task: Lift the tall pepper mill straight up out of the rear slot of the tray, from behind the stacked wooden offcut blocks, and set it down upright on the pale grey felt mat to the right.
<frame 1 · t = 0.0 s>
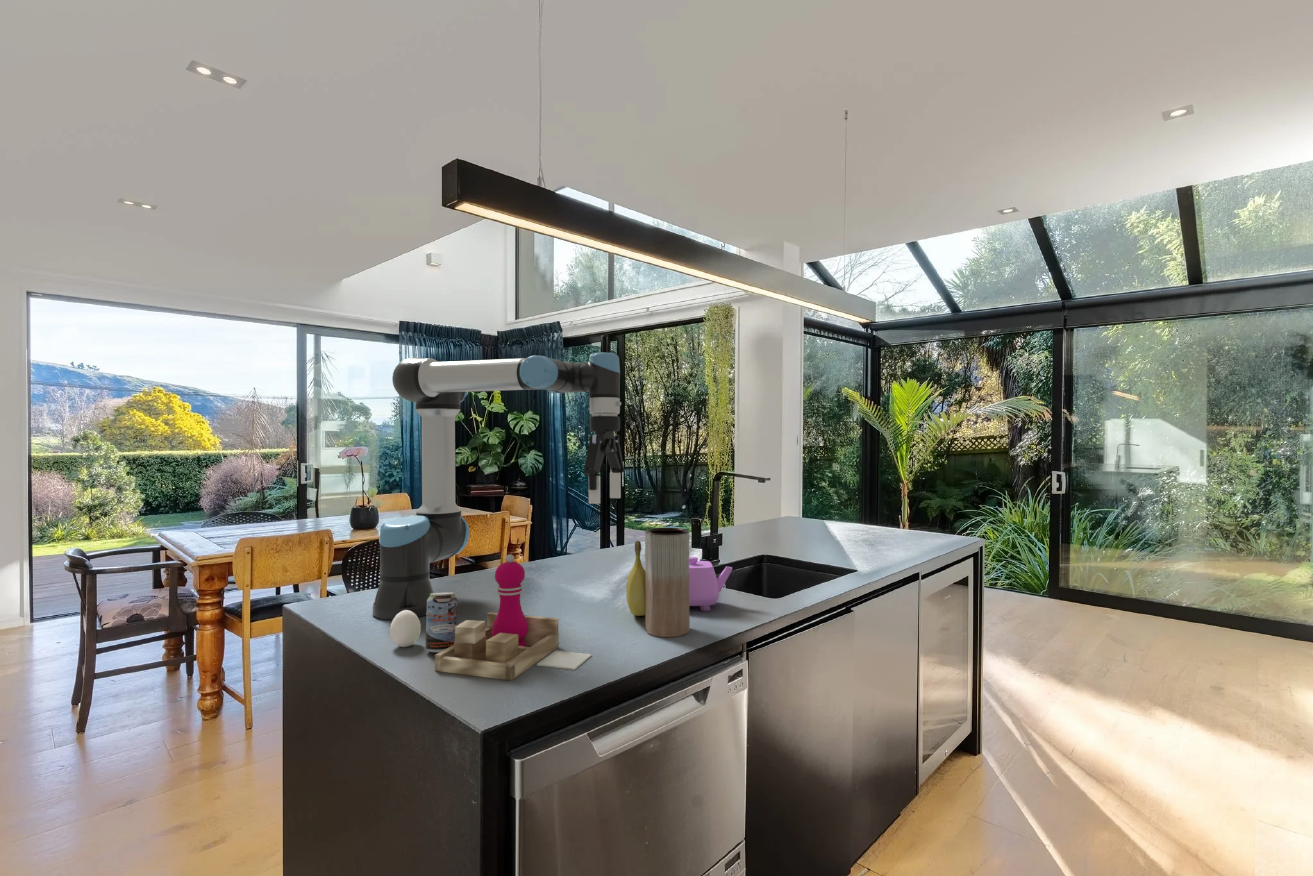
hand: (605, 500, 158), 28 cm above the table, fingers open, 13 cm apart
pepper mill: (510, 652, 130), resting in tray
teapot: (693, 607, 164), on the table
block c: (470, 639, 123), point 5 cm above the table
banana: (640, 615, 156), on the table
block a: (470, 665, 123), resting in tray
beverage can: (441, 651, 131), on the table
tray: (499, 658, 126), on the table
block b: (502, 669, 121), resting in tray
mat: (564, 660, 125), on the table
egg: (405, 647, 134), on the table
planter: (667, 631, 144), on the table
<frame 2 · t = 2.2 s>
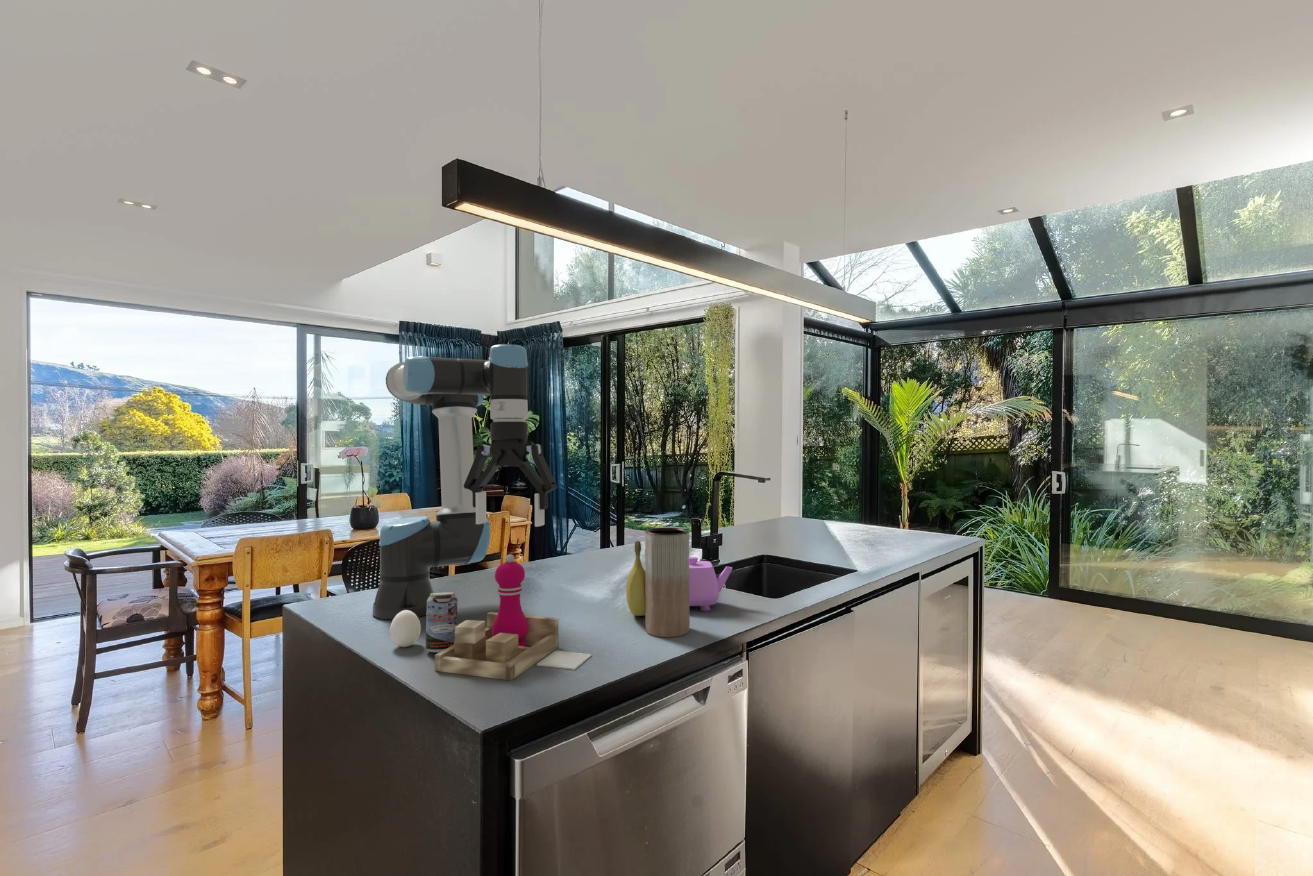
hand: (509, 524, 130), 26 cm above the table, fingers open, 13 cm apart
block c: (470, 639, 123), point 5 cm above the table, touching block a
block a: (470, 665, 123), resting in tray, touching block c
everything else where it was.
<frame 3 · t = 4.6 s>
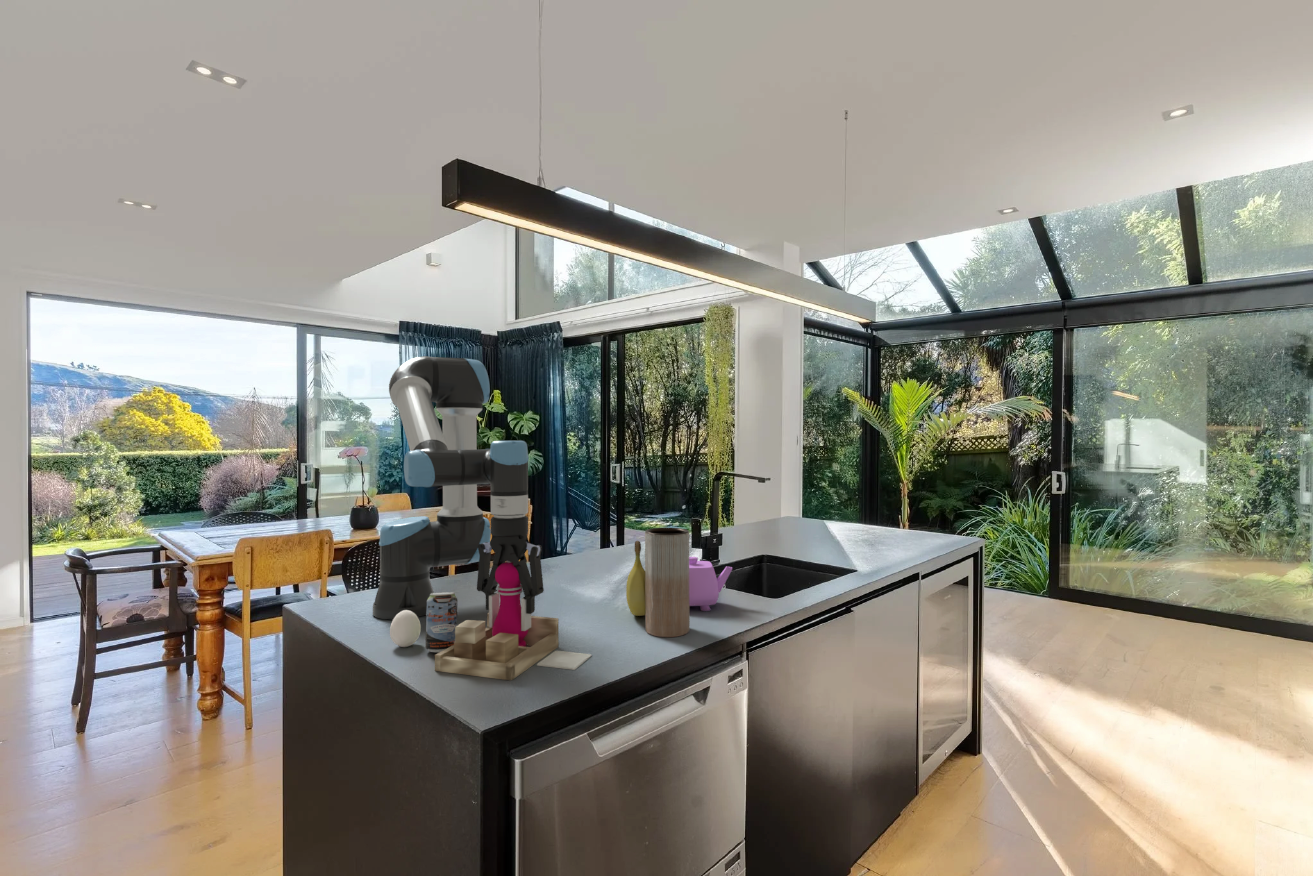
hand: (510, 627, 130), 5 cm above the table, fingers closed on pepper mill, 7 cm apart
pepper mill: (510, 652, 130), resting in tray, touching gripper
everything else where it was.
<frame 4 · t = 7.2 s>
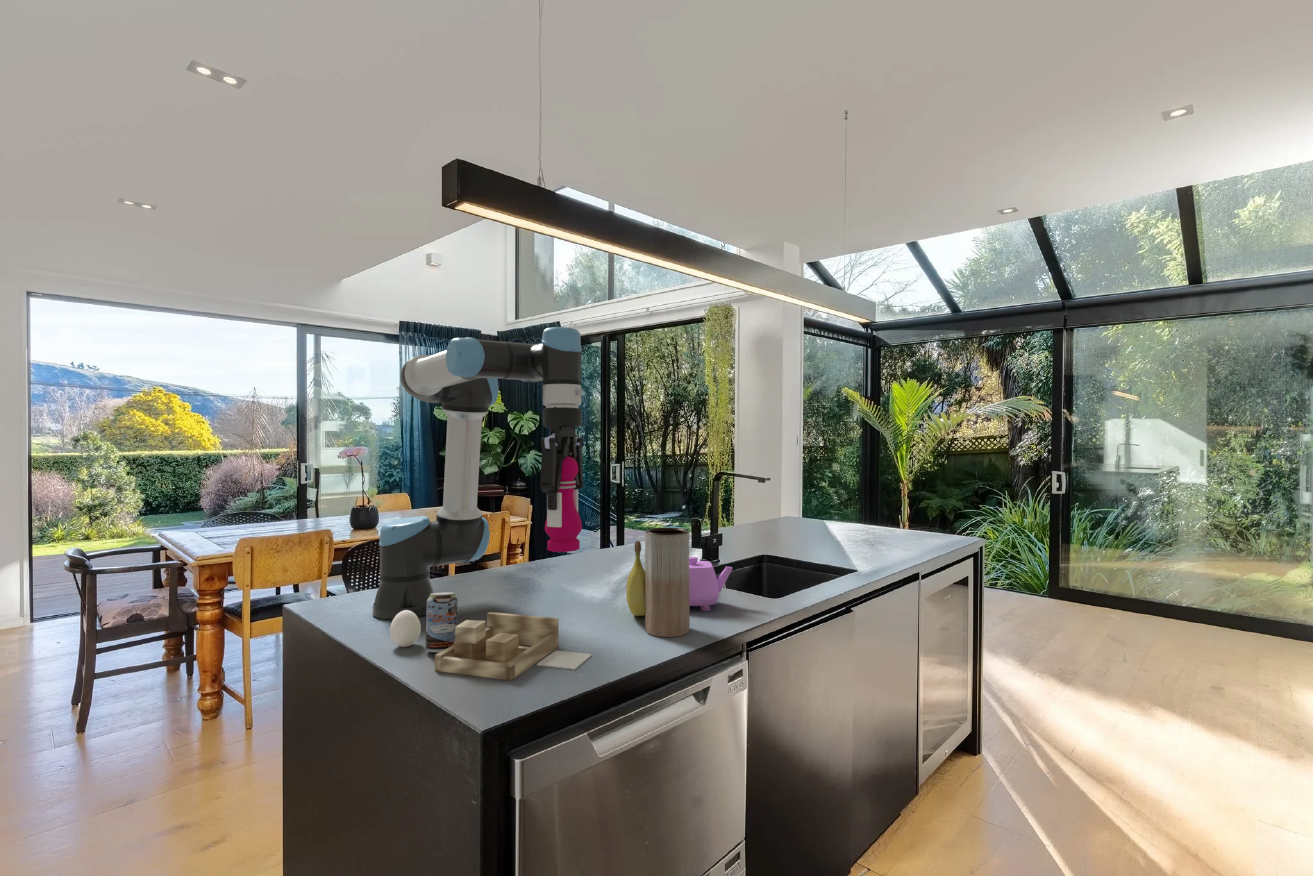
hand: (563, 523, 125), 27 cm above the table, fingers closed on pepper mill, 7 cm apart
pepper mill: (563, 550, 125), point 22 cm above the table, touching gripper
everything else where it was.
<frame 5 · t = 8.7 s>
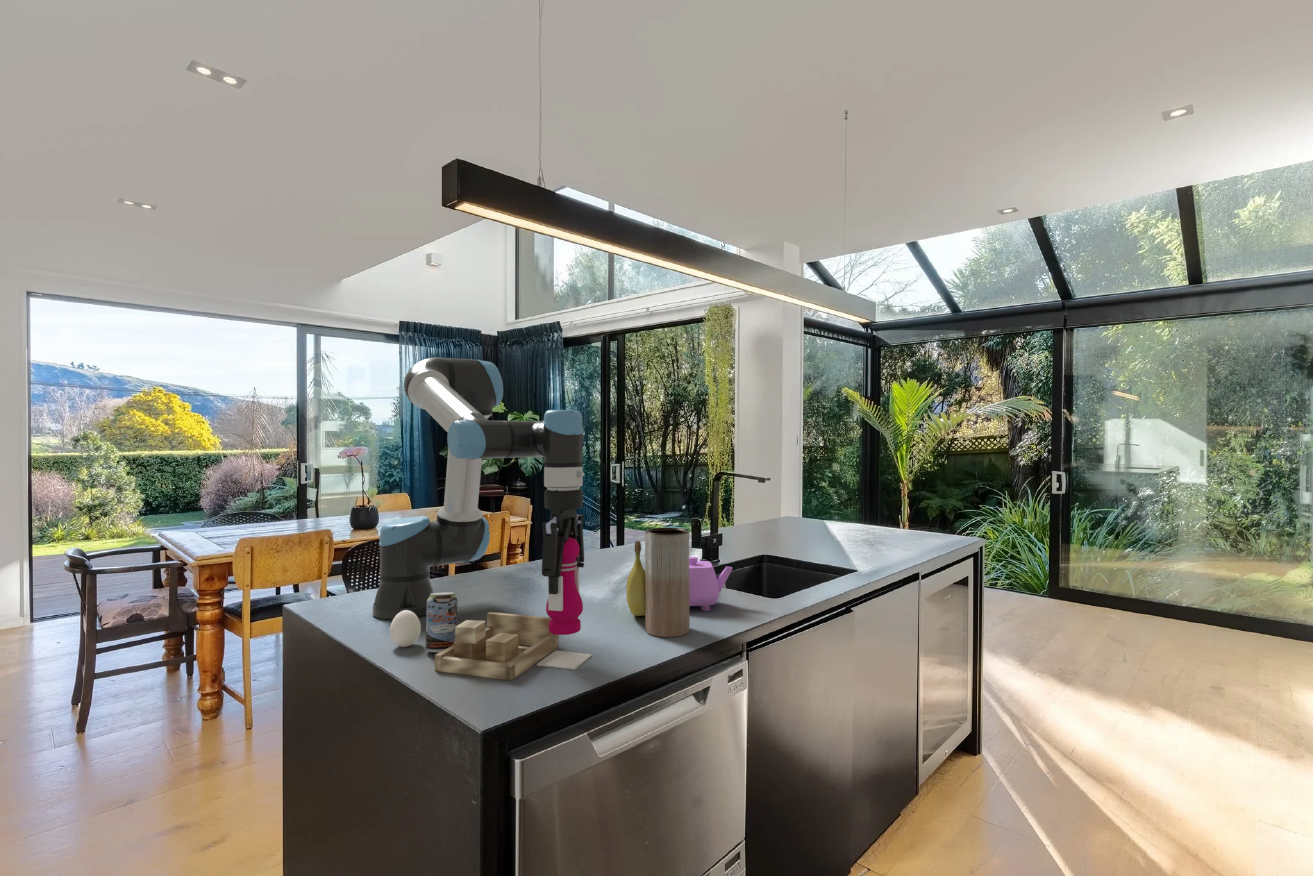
hand: (564, 604, 125), 11 cm above the table, fingers closed on pepper mill, 7 cm apart
pepper mill: (564, 631, 125), point 6 cm above the table, touching gripper
everything else where it was.
when the fingers open (6 cm above the table, at t = 9.9 s): pepper mill stays where it is, resting on mat.
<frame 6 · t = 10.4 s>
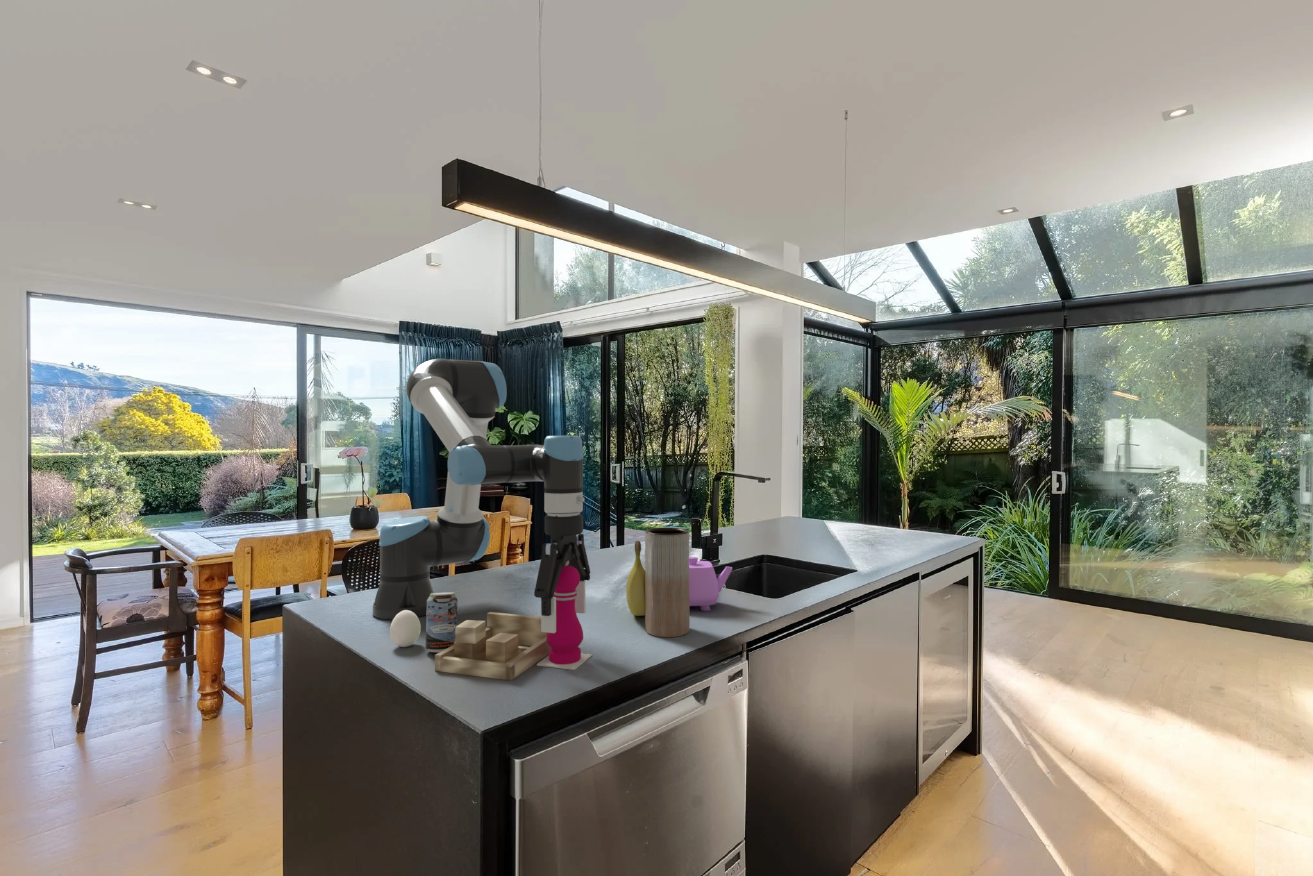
hand: (564, 621, 125), 8 cm above the table, fingers open, 13 cm apart
pepper mill: (565, 659, 125), resting on mat
everything else where it was.
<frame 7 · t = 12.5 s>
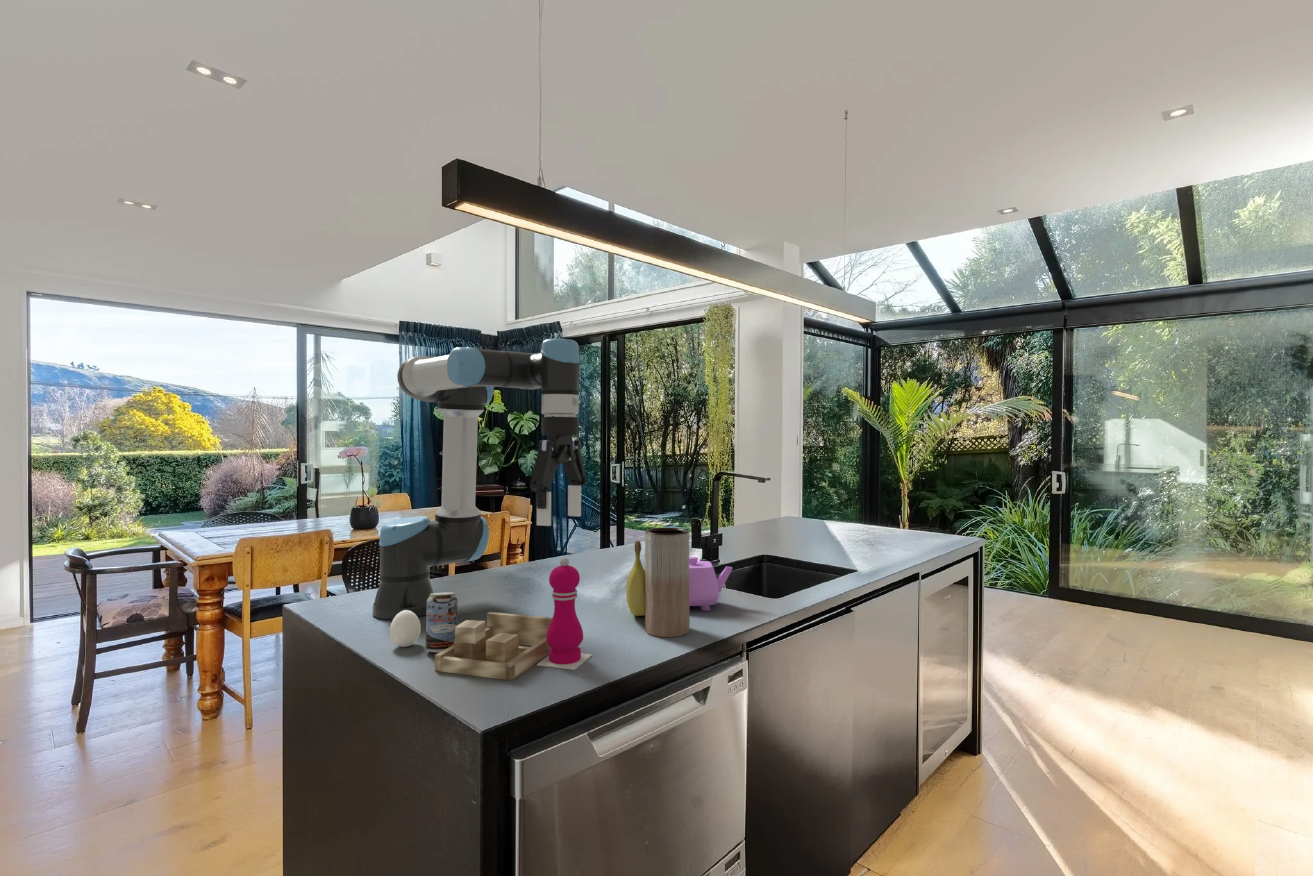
hand: (559, 520, 129), 27 cm above the table, fingers open, 13 cm apart
nothing on the table moved.
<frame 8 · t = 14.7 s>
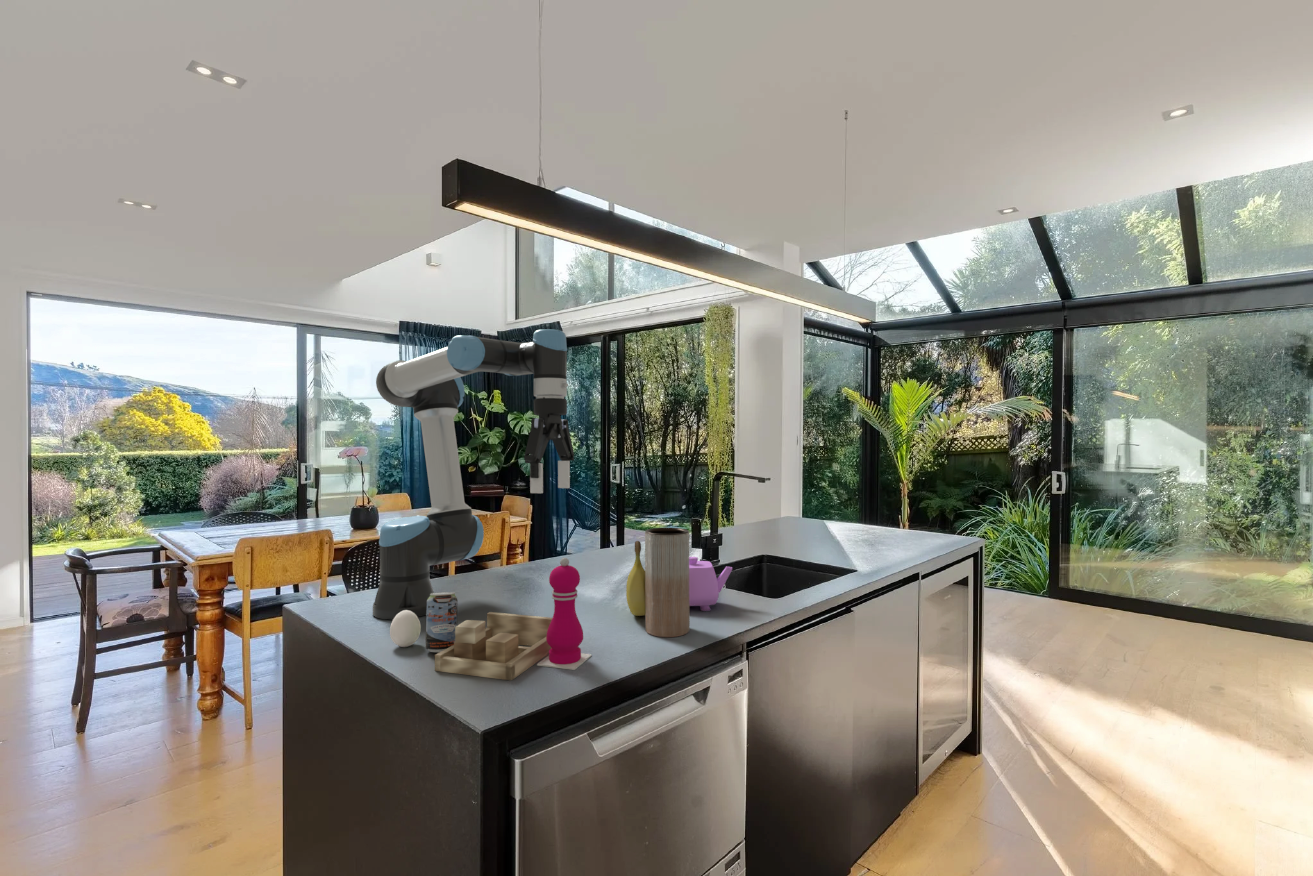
hand: (550, 490, 145), 32 cm above the table, fingers open, 13 cm apart
nothing on the table moved.
at the end: pepper mill inside the target area on the mat (0.1 cm from its centre), point 0.1 cm above the mat's base; pepper mill tilted 0°; the gripper is holding nothing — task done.
